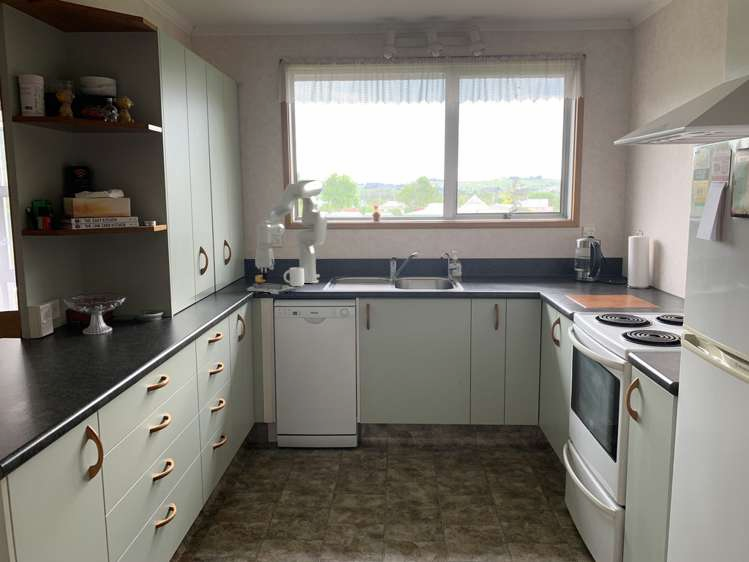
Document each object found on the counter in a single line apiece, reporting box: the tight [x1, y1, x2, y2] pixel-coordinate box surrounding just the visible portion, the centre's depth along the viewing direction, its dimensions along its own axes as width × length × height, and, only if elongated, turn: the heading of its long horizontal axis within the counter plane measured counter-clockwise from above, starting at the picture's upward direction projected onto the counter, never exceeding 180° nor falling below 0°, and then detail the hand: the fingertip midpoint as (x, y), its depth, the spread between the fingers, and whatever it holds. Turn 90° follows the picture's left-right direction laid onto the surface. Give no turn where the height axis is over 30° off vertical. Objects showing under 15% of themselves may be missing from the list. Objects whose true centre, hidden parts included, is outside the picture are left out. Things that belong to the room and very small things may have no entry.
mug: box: [283, 266, 305, 287], centre depth 346 cm, size 12×8×10 cm
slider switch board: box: [246, 282, 295, 295], centre depth 330 cm, size 14×21×4 cm, turn 61°
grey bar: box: [279, 287, 297, 295], centre depth 324 cm, size 13×1×1 cm, turn 151°
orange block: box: [254, 274, 266, 285], centre depth 333 cm, size 4×4×6 cm
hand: (265, 279), depth 331 cm, fingers closed
